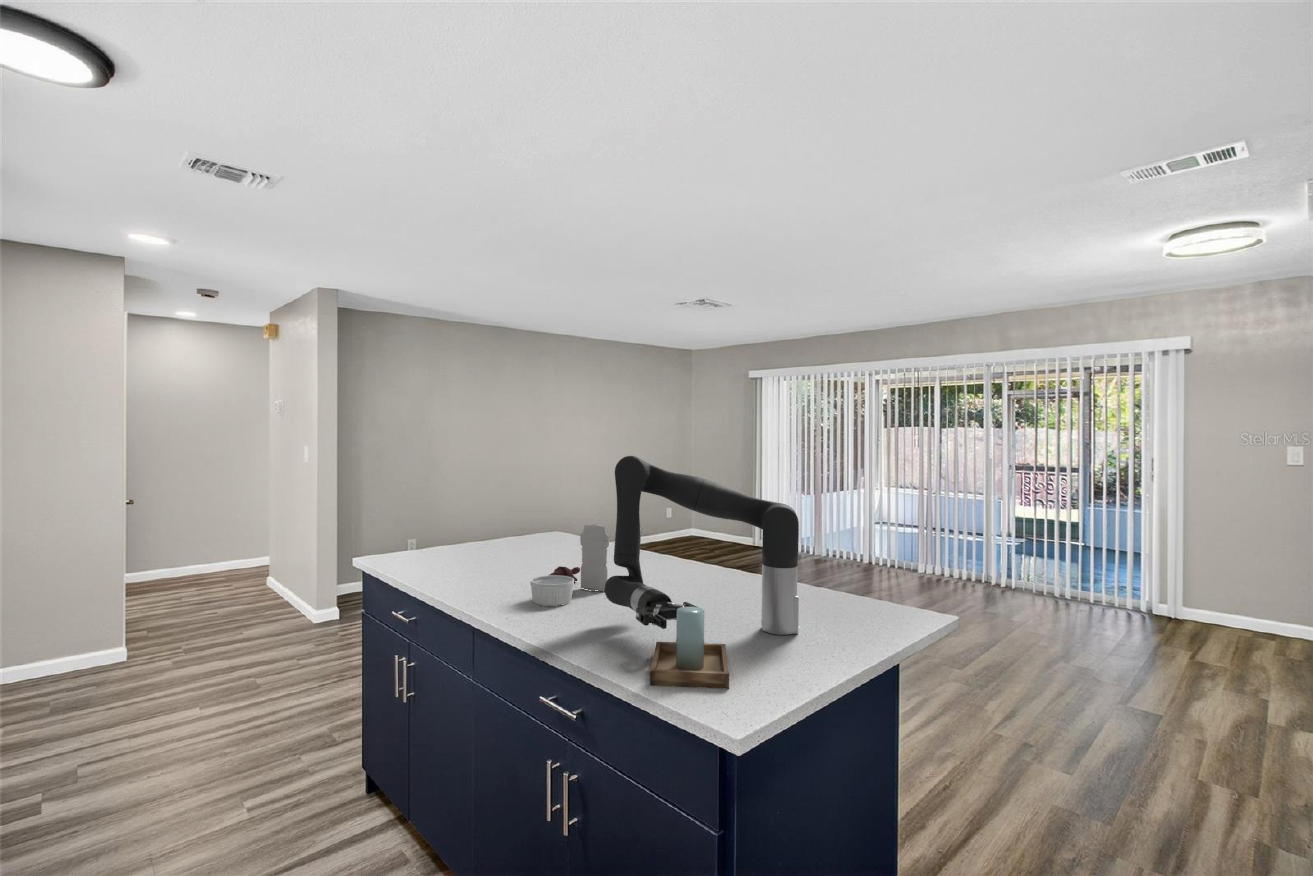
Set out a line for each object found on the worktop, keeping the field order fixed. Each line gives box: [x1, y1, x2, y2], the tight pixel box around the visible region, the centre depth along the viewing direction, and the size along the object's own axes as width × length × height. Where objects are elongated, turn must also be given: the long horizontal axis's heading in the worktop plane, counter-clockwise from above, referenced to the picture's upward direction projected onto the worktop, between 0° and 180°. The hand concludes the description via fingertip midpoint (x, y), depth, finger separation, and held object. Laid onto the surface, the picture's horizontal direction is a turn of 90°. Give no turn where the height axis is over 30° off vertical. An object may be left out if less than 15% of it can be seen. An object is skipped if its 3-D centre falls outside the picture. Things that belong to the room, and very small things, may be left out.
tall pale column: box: [579, 523, 610, 592], centre depth 201 cm, size 11×4×22 cm, turn 69°
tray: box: [649, 641, 730, 690], centre depth 132 cm, size 16×18×3 cm
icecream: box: [549, 566, 581, 582], centre depth 206 cm, size 7×7×15 cm
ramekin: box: [529, 574, 575, 607], centre depth 186 cm, size 13×13×7 cm
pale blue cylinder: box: [675, 606, 705, 671], centre depth 132 cm, size 6×6×12 cm
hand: (682, 622), depth 135 cm, fingers open, 8 cm apart
